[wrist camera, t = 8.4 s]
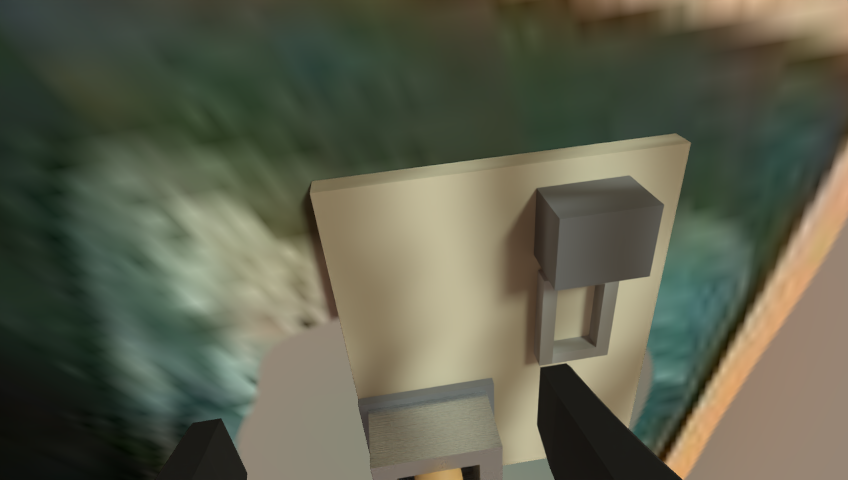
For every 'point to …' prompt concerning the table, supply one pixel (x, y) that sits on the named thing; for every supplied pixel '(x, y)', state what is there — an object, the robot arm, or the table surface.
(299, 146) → the table surface
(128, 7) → the table surface
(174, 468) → the robot arm
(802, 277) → the table surface
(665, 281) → the table surface
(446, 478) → the square tray with peg
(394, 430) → the square metal tube
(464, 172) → the board
